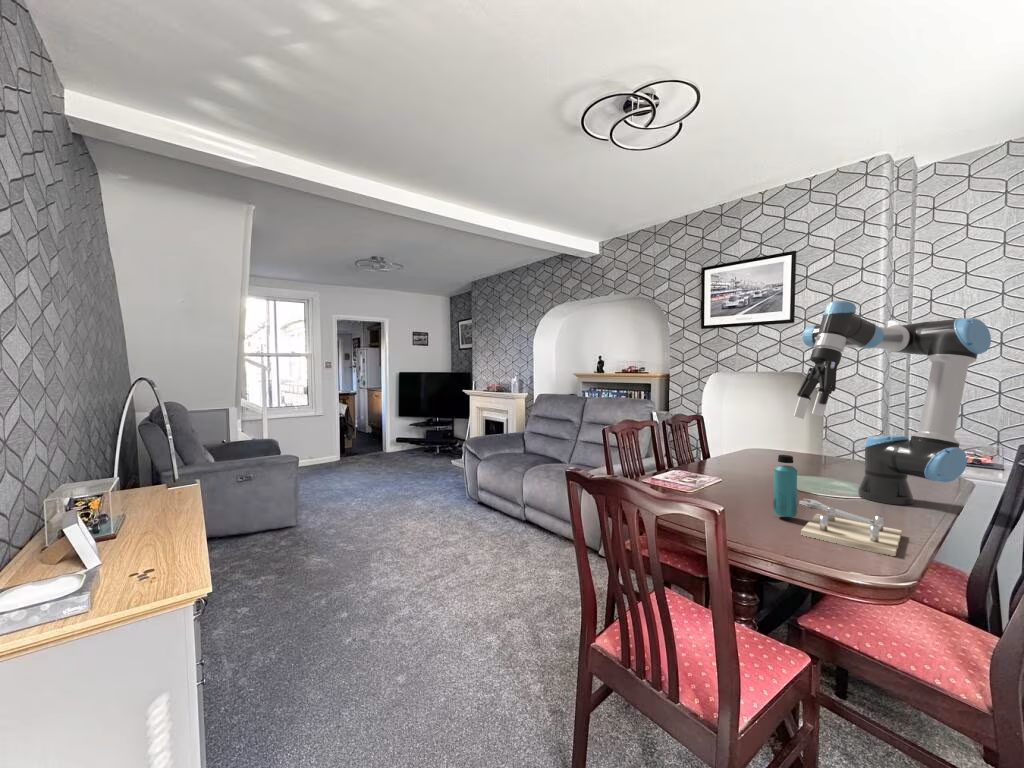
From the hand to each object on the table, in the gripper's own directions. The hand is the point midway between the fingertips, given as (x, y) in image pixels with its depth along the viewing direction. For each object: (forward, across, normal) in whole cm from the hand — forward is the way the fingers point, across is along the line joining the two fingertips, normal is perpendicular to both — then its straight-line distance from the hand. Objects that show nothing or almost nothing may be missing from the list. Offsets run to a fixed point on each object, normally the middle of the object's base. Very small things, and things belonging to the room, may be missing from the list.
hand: (807, 416), depth 132 cm
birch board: (+30, +4, +18) cm, 35 cm away
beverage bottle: (+32, -7, +5) cm, 33 cm away
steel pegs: (+28, +4, +17) cm, 33 cm away
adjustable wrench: (+26, -16, +21) cm, 37 cm away
